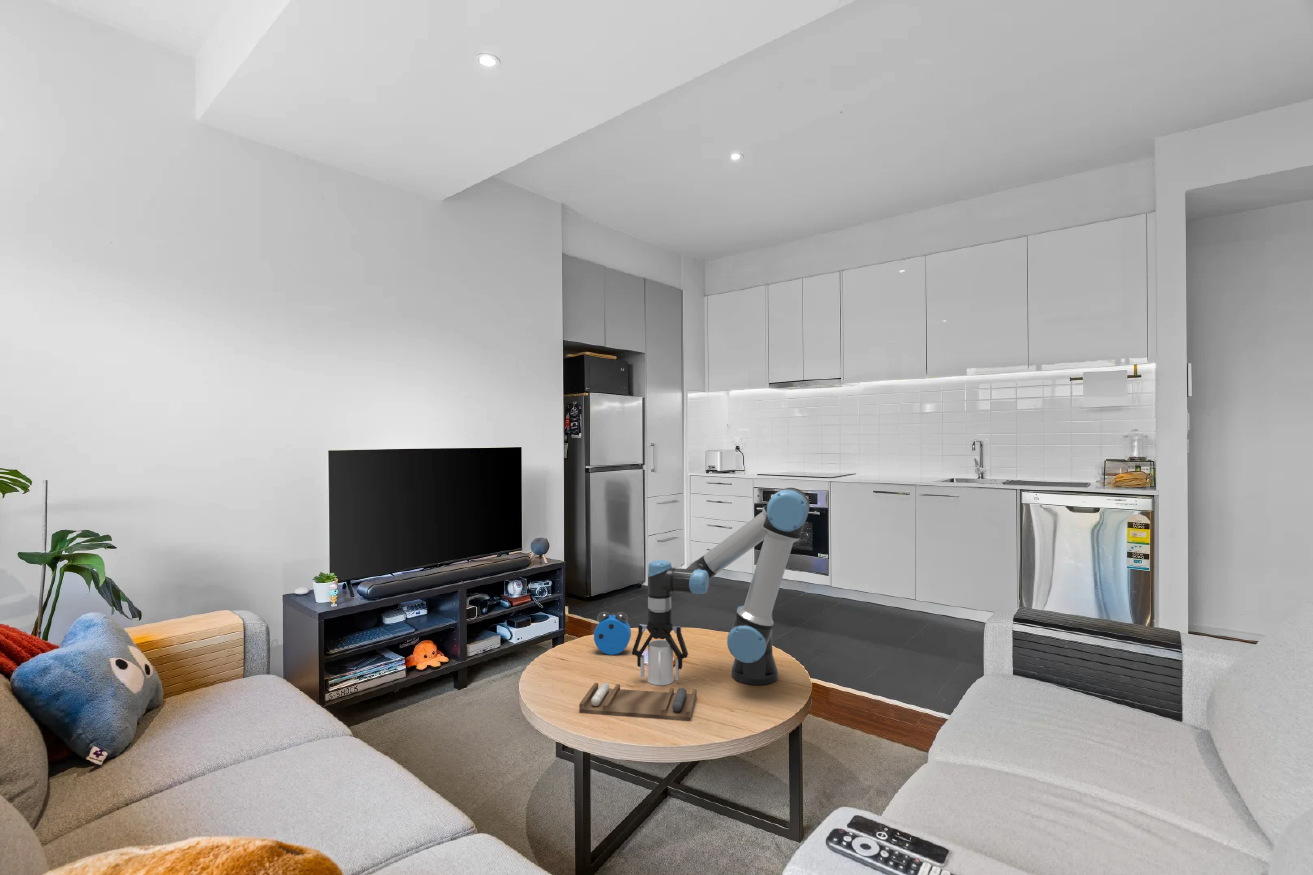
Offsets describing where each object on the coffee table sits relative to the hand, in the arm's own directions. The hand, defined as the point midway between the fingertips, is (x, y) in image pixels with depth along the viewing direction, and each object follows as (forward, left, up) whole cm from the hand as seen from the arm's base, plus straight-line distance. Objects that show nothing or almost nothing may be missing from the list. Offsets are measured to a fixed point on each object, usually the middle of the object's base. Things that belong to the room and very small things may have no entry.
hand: (659, 677), depth 201 cm
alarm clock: (+22, -25, -2) cm, 33 cm away
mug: (0, 0, -2) cm, 2 cm away
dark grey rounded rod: (-9, +18, -1) cm, 20 cm away
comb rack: (+3, +18, -1) cm, 18 cm away
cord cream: (+15, +18, -1) cm, 23 cm away
